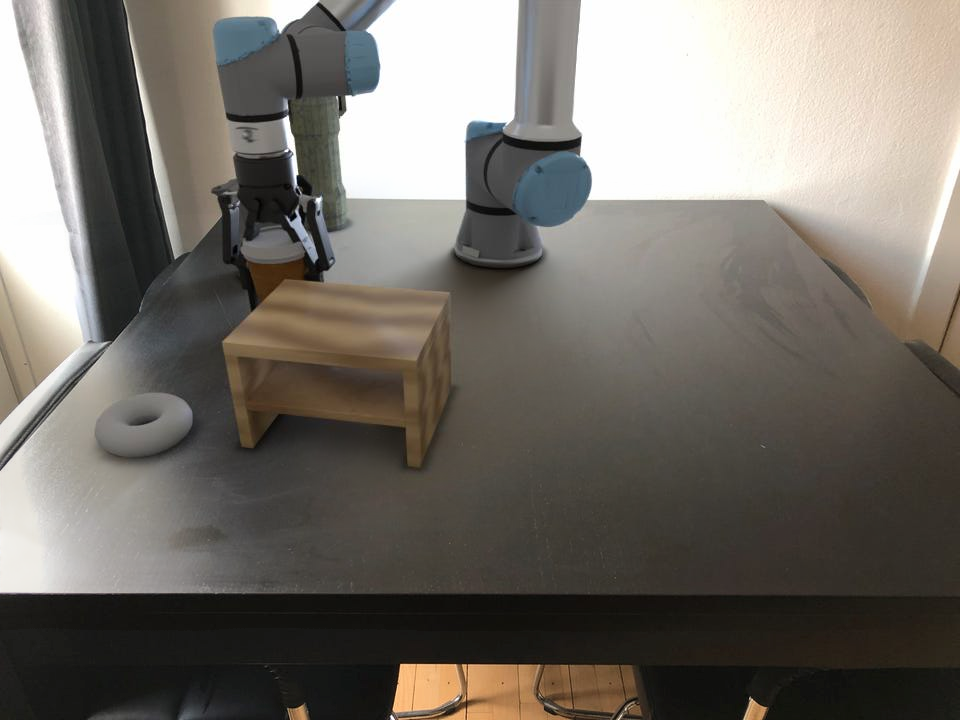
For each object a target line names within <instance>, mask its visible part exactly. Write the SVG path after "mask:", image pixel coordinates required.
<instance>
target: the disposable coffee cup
mask: <svg viewBox="0 0 960 720" xmlns="http://www.w3.org/2000/svg"><path fill="white" fill-rule="evenodd" d="M306 233H307V234H308V235H309V233H308V232H307V231H306ZM310 240H311V242H312V243H313V239H311V238H310ZM307 241H308V237H306V238H305V239H304V240H303V242H305V243H307ZM310 248H311V247H310ZM310 248H309V249H310ZM240 249H241V253H242V254H243V255H244V257H245V258H246V260H247V264H248V267H249V270H250V273H251V276H252V279H253V283H254V286H255V289H256V292H257V296H258V299H259V302H260V304H261V303H262V302H263V301H264V300H265V299H266V298H267V297H268V296H269V295H270V294H271V293H272V292H273V291H274V290H275V289H276V288H277V287H278V286H279V285H280V284H281V283H282V282H283V281H284V280H285V279H289V280H301V281H305V278H304V275H305V274H306V273H307V271H308V269H307V267H306V265H305V263H304V262H303V257H304V253H305V252H306V251H304V249H303V246H302V243H301V242H296V243H294V244H293V242H292V240H291V238H290V237H289V235H288V233H287V232H286V231H284V230H283V228H282V226H272V227H266V228H261V229H260V233H259V235H258V236H257V237H256V238H254V239H253V240H252V241H246V238H243V243H242V247H241V248H240Z"/></svg>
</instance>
